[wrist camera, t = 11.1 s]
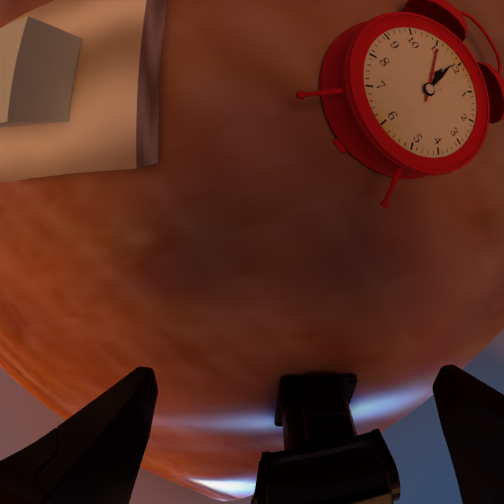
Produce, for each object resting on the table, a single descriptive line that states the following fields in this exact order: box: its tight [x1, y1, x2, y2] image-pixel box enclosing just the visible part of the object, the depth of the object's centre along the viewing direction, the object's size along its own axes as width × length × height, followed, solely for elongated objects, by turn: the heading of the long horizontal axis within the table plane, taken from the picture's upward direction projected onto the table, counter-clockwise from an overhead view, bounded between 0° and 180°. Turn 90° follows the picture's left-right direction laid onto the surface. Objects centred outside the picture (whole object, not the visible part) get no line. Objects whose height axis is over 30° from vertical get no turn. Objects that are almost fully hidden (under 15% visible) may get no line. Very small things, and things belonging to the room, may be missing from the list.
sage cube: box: [0, 16, 82, 128], centre depth 10 cm, size 5×5×5 cm
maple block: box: [0, 0, 167, 183], centre depth 14 cm, size 12×12×4 cm
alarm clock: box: [297, 0, 504, 208], centre depth 13 cm, size 11×6×15 cm
